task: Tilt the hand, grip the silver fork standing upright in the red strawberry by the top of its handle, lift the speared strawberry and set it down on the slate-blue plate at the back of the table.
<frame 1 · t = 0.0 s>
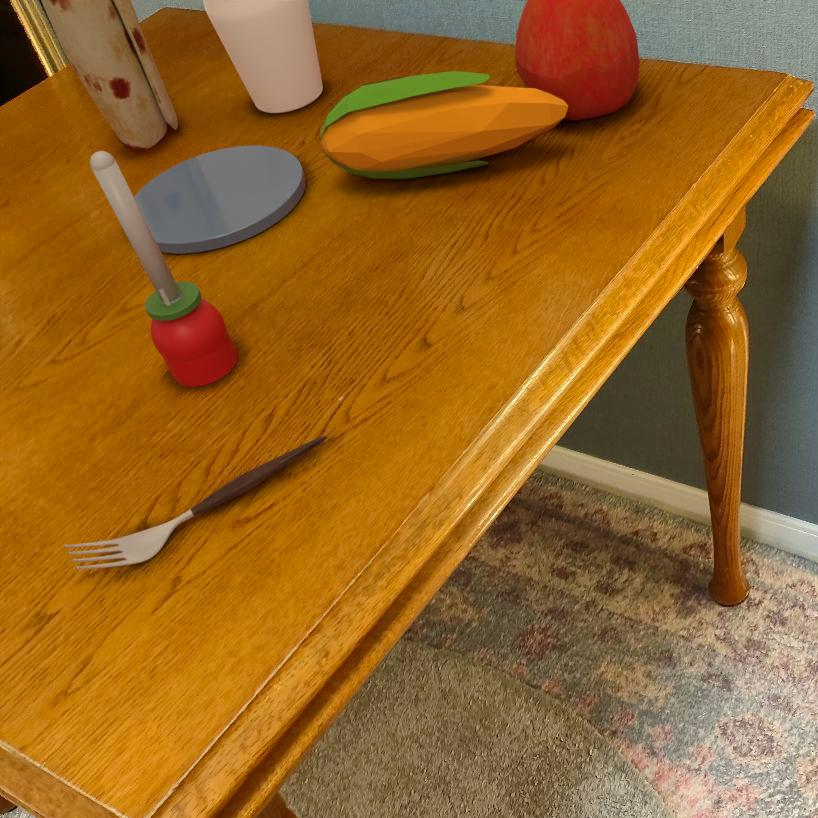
strawberry fork: (205, 364, 69), on the table
food model: (151, 139, 94), on the table
fork: (214, 510, 60), on the table
cup: (290, 99, 95), on the table
corn: (453, 165, 82), on the table
plate: (219, 202, 84), on the table
apple: (584, 106, 86), on the table
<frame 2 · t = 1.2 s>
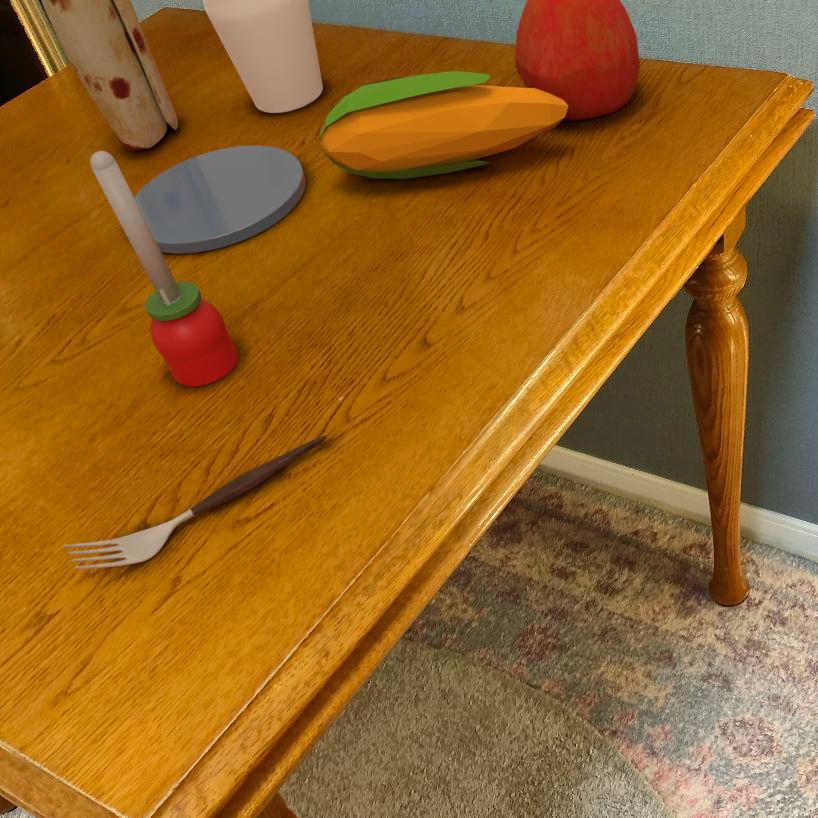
nothing on the table moved.
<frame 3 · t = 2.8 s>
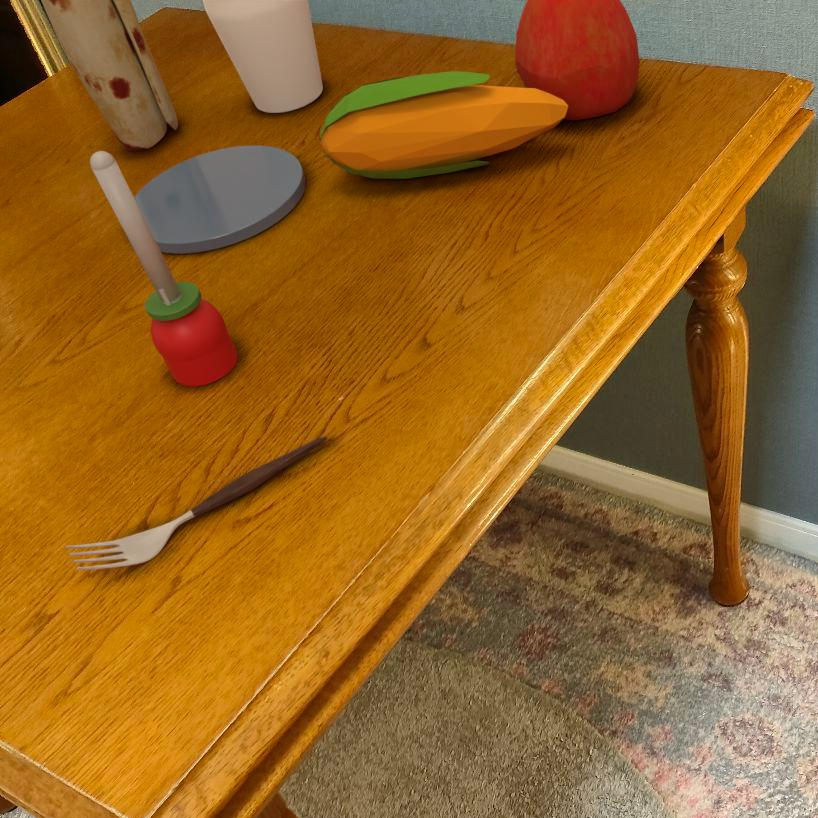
nothing on the table moved.
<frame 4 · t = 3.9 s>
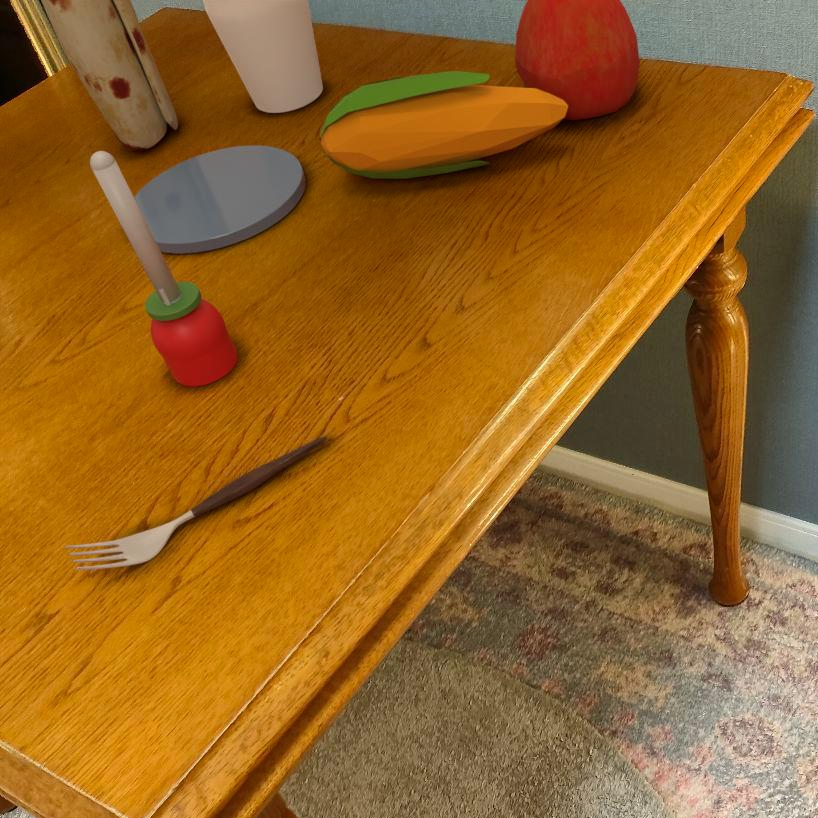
nothing on the table moved.
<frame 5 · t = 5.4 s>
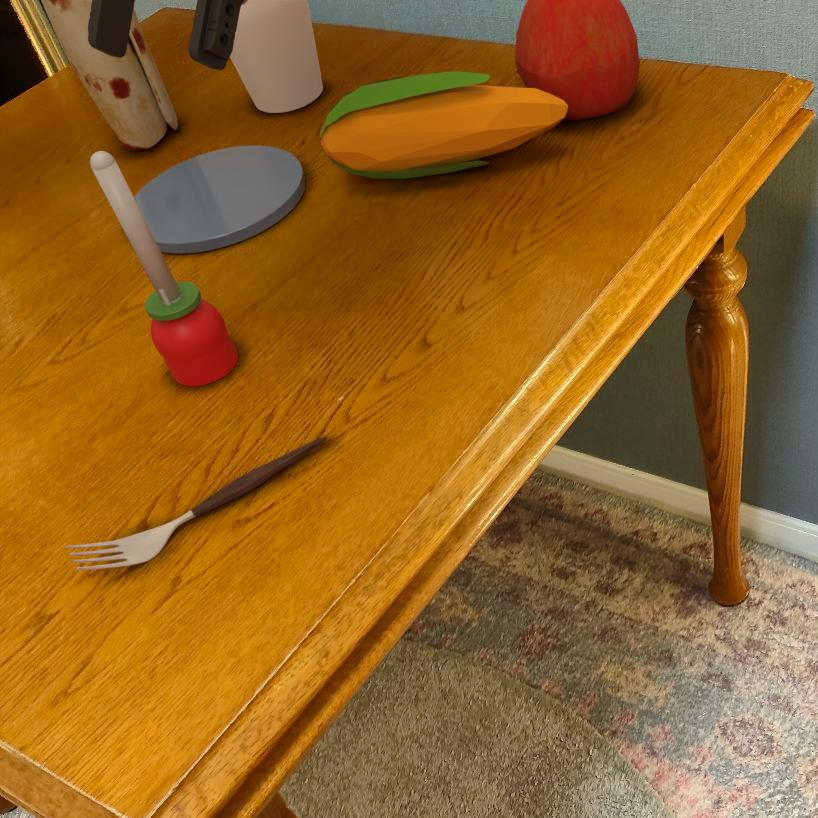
hand: (154, 58, 59), 18 cm above the table, tool tilted 45°, fingers open, 8 cm apart
nothing on the table moved.
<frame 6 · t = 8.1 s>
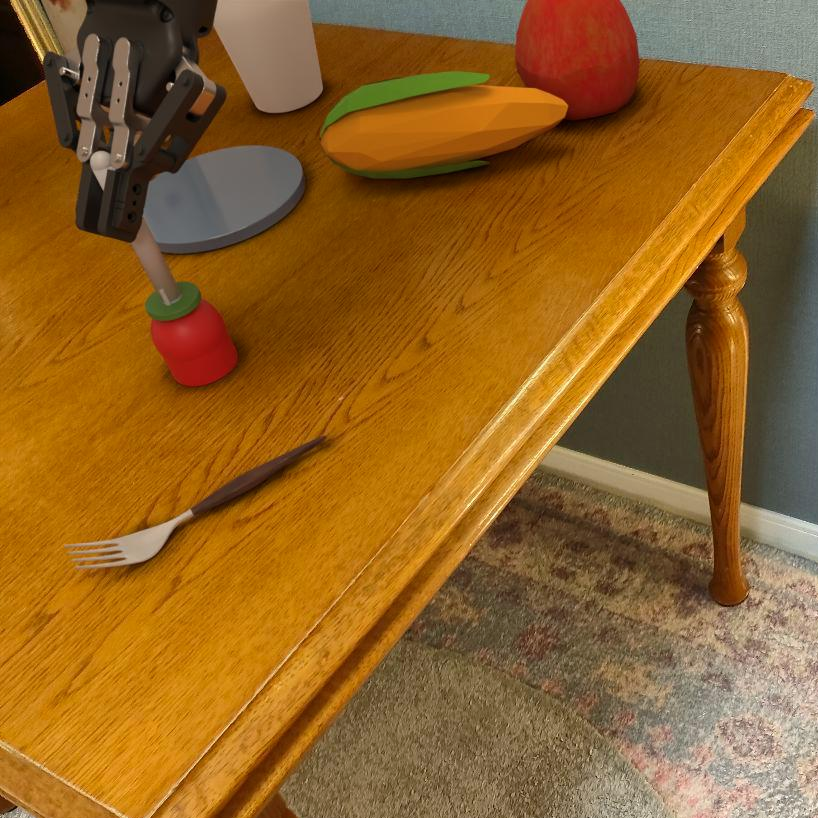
hand: (104, 235, 59), 11 cm above the table, tool tilted 45°, fingers closed on strawberry fork
strawberry fork: (205, 364, 69), on the table, touching gripper
everything else where it was.
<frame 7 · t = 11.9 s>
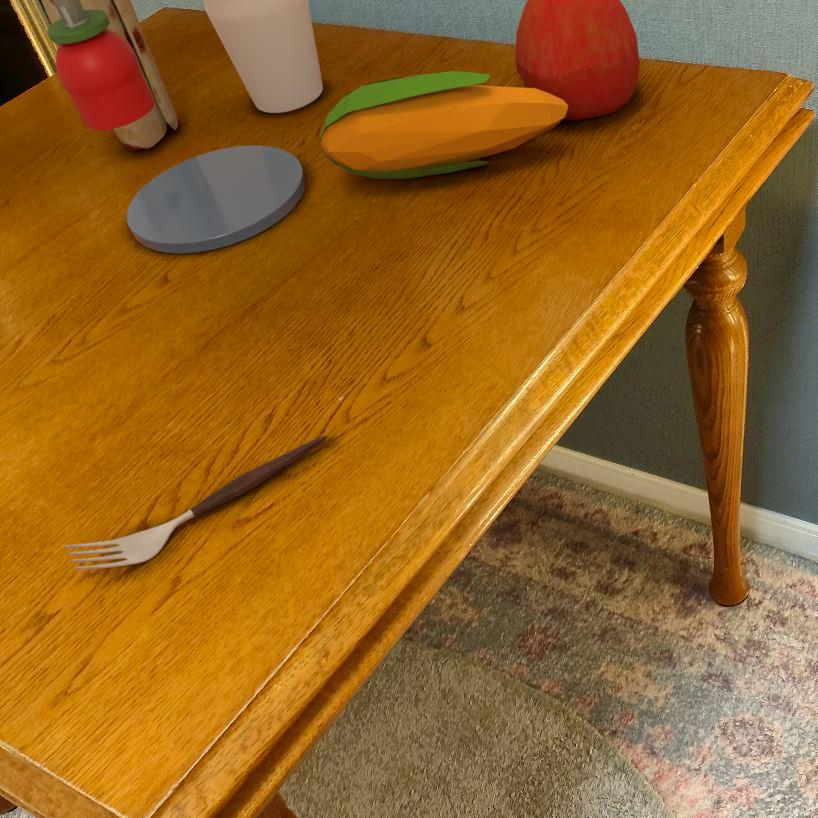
strawberry fork: (119, 112, 64), point 14 cm above the table, touching gripper
everything else where it was.
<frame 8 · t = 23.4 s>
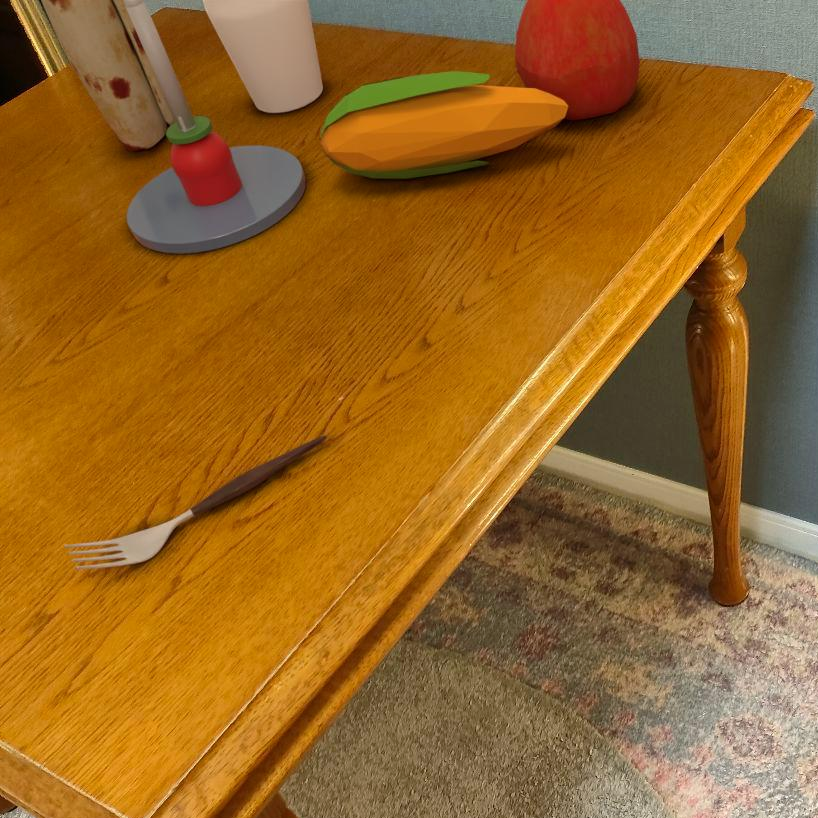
strawberry fork: (215, 190, 83), point 1 cm above the table, touching plate
everything else where it was.
at the end: strawberry fork inside the target area on the plate (0.1 cm from its centre), point 1.0 cm above the plate's base; strawberry fork tilted 0°; the gripper is holding nothing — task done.
